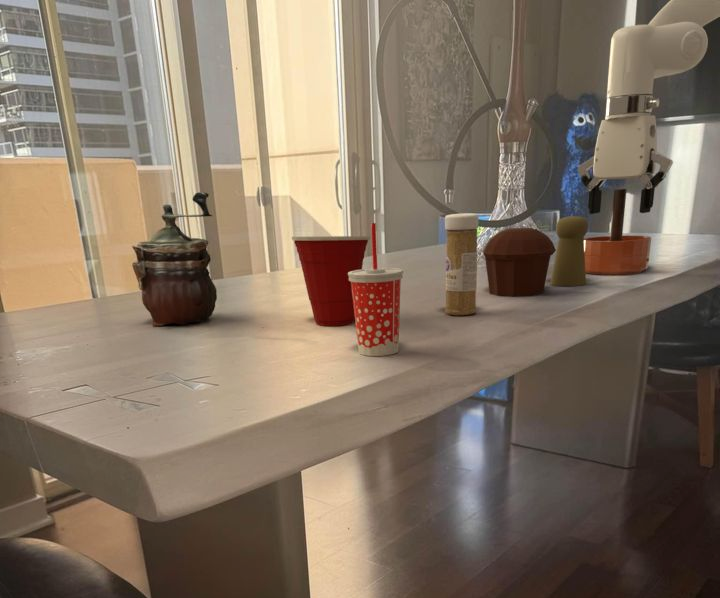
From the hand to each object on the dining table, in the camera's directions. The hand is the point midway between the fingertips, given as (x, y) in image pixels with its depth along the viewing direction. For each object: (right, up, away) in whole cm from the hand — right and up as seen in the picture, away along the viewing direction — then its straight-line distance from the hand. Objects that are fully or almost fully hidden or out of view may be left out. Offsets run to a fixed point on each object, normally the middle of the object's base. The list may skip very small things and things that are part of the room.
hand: (619, 212), depth 129 cm
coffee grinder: (-74, -26, -24) cm, 82 cm away
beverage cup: (-46, -35, -48) cm, 75 cm away
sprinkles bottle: (-34, -26, -29) cm, 51 cm away
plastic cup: (-52, -27, -30) cm, 66 cm away
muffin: (-22, -19, -13) cm, 32 cm away
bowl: (0, -10, +4) cm, 11 cm away
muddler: (0, -9, +4) cm, 10 cm away
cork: (-12, -16, -8) cm, 21 cm away
